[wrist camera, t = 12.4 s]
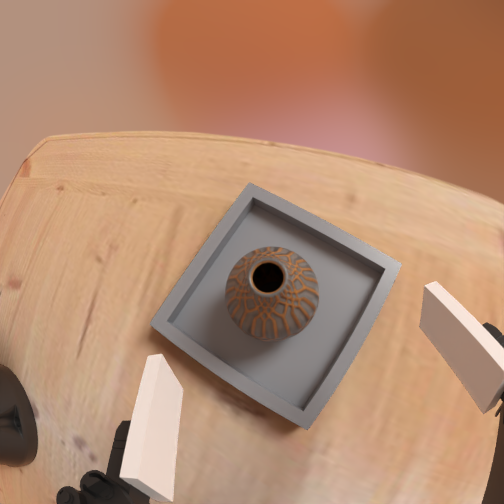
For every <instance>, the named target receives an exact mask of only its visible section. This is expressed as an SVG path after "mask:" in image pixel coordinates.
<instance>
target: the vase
mask: <svg viewBox="0 0 504 504" xmlns="http://www.w3.org/2000/svg"><path fill="white" fill-rule="evenodd" d="M225 302H226V306H227V310H228V312H229V315H230V317H231V318H232V320H233V322H234V323H235V324H236V325H237V326H238V327H239V328H240V329H241V330H242V331H243V332H244V333H246V334H247V335H249V336H251V337H253V338H255V339H258V340H262V341H269V342H275V341H282V340H286V339H289V338H291V337H293V336H295V335H297V334H298V333H300V332H301V331H302V330H304V329H305V328H306V327H307V326H308V324H309V323H310V322H311V320H312V319H313V317H314V315H315V313H316V310H317V307H318V303H319V285H318V281H317V278H316V275H315V273H314V271H313V270H312V268H311V267H310V265H309V264H308V263H307V262H306V261H305V260H304V259H303V258H302V257H301V256H300V255H298V254H297V253H295V252H293V251H291V250H288V249H285V248H281V247H262V248H259V249H256V250H253V251H251V252H249V253H247V254H246V255H244V256H243V257H242V258H241V259H240V260H239V261H238V262H237V263H236V264H235V265H234V267H233V268H232V270H231V272H230V274H229V276H228V279H227V282H226V287H225Z"/></svg>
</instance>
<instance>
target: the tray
mask: <svg viewBox="0 0 504 504" xmlns="http://www.w3.org/2000/svg"><path fill="white" fill-rule="evenodd" d="M262 247H281V248H285V249H288V250H291V251H293V252H295V253H297V254H298V255H300V256H301V257H302V258H303V259H304V260H305V261H306V262H307V263H308V264H309V265H310V267H311V268H312V270H313V271H314V273H315V275H316V278H317V281H318V285H319V303H318V307H317V310H316V313H315V315H314V317H313V319H312V320H311V322H310V323H309V324H308V326H307V327H306V328H305V329H304V330H302V331H301V332H300V333H298V334H297V335H295V336H293V337H291V338H289V339H286V340H282V341H275V342H269V341H262V340H258V339H255V338H253V337H251V336H249V335H247V334H246V333H244V332H243V331H242V330H241V329H240V328H239V327H238V326H237V325H236V324H235V323H234V322H233V320H232V318H231V317H230V315H229V312H228V310H227V306H226V302H225V287H226V282H227V279H228V276H229V274H230V272H231V270H232V268H233V267H234V265H235V264H236V263H237V262H238V261H239V260H240V259H241V258H242V257H243V256H244V255H246V254H247V253H249V252H251V251H253V250H256V249H259V248H262ZM401 265H402V264H401V263H400V262H398V261H396V260H394V259H393V258H391V257H389V256H388V255H386V254H384V253H383V252H381V251H379V250H377V249H376V248H374V247H372V246H370V245H369V244H367V243H365V242H363V241H361V240H360V239H358V238H356V237H354V236H353V235H351V234H349V233H347V232H345V231H343V230H342V229H340V228H338V227H336V226H334V225H332V224H331V223H329V222H327V221H325V220H323V219H321V218H319V217H317V216H315V215H314V214H312V213H310V212H308V211H306V210H304V209H302V208H300V207H298V206H296V205H294V204H292V203H290V202H288V201H286V200H284V199H282V198H280V197H278V196H276V195H274V194H272V193H270V192H268V191H266V190H264V189H262V188H260V187H258V186H256V185H254V184H252V183H250V182H249V183H248V185H247V186H246V187H245V189H244V190H243V191H242V193H241V194H240V195H239V197H238V198H237V199H236V201H235V202H234V203H233V205H232V206H231V207H230V209H229V210H228V212H227V213H226V214H225V216H224V217H223V218H222V220H221V221H220V223H219V224H218V225H217V227H216V228H215V229H214V231H213V232H212V234H211V235H210V236H209V238H208V239H207V241H206V242H205V243H204V245H203V246H202V248H201V249H200V251H199V252H198V253H197V255H196V256H195V258H194V259H193V260H192V262H191V263H190V265H189V266H188V268H187V269H186V271H185V272H184V273H183V275H182V276H181V278H180V279H179V281H178V282H177V284H176V285H175V287H174V288H173V290H172V291H171V292H170V294H169V295H168V297H167V298H166V300H165V301H164V303H163V304H162V306H161V307H160V309H159V310H158V312H157V313H156V315H155V316H154V318H153V319H152V321H151V322H150V325H151V326H152V327H153V328H155V329H156V330H157V331H158V332H160V333H161V334H162V335H163V336H165V337H166V338H167V339H168V340H170V341H171V342H172V343H174V344H175V345H176V346H178V347H179V348H180V349H181V350H183V351H184V352H185V353H187V354H188V355H190V356H191V357H192V358H194V359H195V360H196V361H198V362H199V363H200V364H202V365H203V366H205V367H206V368H207V369H209V370H210V371H212V372H213V373H215V374H216V375H218V376H219V377H220V378H222V379H223V380H225V381H226V382H228V383H229V384H231V385H232V386H234V387H235V388H237V389H238V390H240V391H242V392H243V393H245V394H246V395H248V396H249V397H251V398H253V399H254V400H256V401H257V402H259V403H261V404H262V405H264V406H266V407H267V408H269V409H271V410H272V411H274V412H276V413H277V414H279V415H281V416H283V417H284V418H286V419H288V420H290V421H291V422H293V423H295V424H297V425H299V426H300V427H302V428H304V429H306V430H308V429H309V428H310V426H311V425H312V424H313V422H314V421H315V419H316V418H317V416H318V415H319V414H320V412H321V411H322V409H323V408H324V406H325V405H326V403H327V402H328V400H329V399H330V397H331V396H332V394H333V393H334V391H335V390H336V388H337V386H338V385H339V383H340V382H341V380H342V378H343V377H344V375H345V374H346V372H347V370H348V369H349V367H350V365H351V364H352V362H353V360H354V358H355V357H356V355H357V353H358V352H359V350H360V348H361V346H362V344H363V343H364V341H365V339H366V337H367V335H368V333H369V332H370V330H371V328H372V326H373V324H374V322H375V320H376V318H377V316H378V314H379V312H380V310H381V308H382V306H383V304H384V302H385V300H386V298H387V296H388V294H389V292H390V289H391V287H392V285H393V283H394V281H395V279H396V276H397V274H398V272H399V269H400V267H401Z"/></svg>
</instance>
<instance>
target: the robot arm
mask: <svg viewBox="0 0 504 504" xmlns="http://www.w3.org/2000/svg"><path fill="white" fill-rule="evenodd" d="M419 327H420V328H421V330H422V331H423V332H424V333H425V335H426V336H427V337H428V338H429V340H430V341H431V342H432V344H433V345H434V346H435V347H436V349H437V350H438V351H439V353H440V354H441V355H442V357H443V358H444V359H445V361H446V362H447V363H448V365H449V366H450V367H451V369H452V370H453V371H454V373H455V374H456V376H457V377H458V378H459V380H460V381H461V382H462V384H463V385H464V387H465V388H466V390H467V391H468V392H469V394H470V395H471V397H472V398H473V400H474V401H475V403H476V404H477V406H478V407H479V409H480V410H481V412H482V413H483V414H484V413H486V412H487V411H489V410H490V409H492V408H493V407H495V406H496V404H497V402H498V401H499V399H500V398H501V400H502V401H503V403H502V404H501V406H500V407H499V409H498V410H497V412H496V414H495V417H497V416H498V414H499V413H500V421H499V429H498V436H497V442H496V448H495V453H494V458H493V463H492V467H491V472H490V476H489V480H488V483H487V487H486V491H485V494H484V497H483V501H482V504H504V335H502V333H501V332H500V331H499V330H498V329H497V328H496V327H495V326H493V325H491V324H489V323H487V322H486V323H485V324H483V325H481V324H480V323H479V322H478V321H477V320H476V319H475V318H474V317H473V316H472V315H471V314H470V313H469V312H468V311H467V310H466V309H465V308H464V307H463V306H462V305H461V304H460V303H459V302H458V301H457V300H456V299H455V298H454V297H453V296H451V295H450V294H449V293H448V292H447V291H446V290H445V289H444V288H443V287H442V286H441V285H440V284H439V283H437V282H436V281H435V282H432V283H429V284H427V285H424V294H423V303H422V312H421V319H420V326H419ZM182 396H183V388H182V386H181V385H180V383H179V382H178V380H177V378H176V377H175V375H174V373H173V372H172V370H171V368H170V367H169V365H168V363H167V362H166V360H165V358H164V356H163V355H162V354H157V355H150V356H148V358H147V361H146V365H145V369H144V372H143V376H142V380H141V383H140V387H139V391H138V395H137V399H136V403H135V407H134V411H133V415H132V420H131V421H122V422H121V424H120V425H119V427H118V428H117V430H116V434H115V438H114V442H113V446H112V448H113V449H112V450H111V454H110V459H109V463H108V467H107V472H106V475H105V474H104V473H102V472H100V471H98V470H92V471H89V472H87V473H86V474H85V475H83V477H82V479H81V481H80V488H81V491H78V490H76V489H75V488H73V487H70V486H65V487H63V488H61V489H60V490H59V491H58V494H57V499H56V501H57V504H150V503H149V499H150V498H152V499H154V500H155V501H163V502H173V494H174V479H175V466H176V455H177V443H178V433H179V423H180V414H181V405H182ZM500 411H501V412H500ZM37 443H38V442H37V429H36V423H35V419H34V415H33V411H32V408H31V405H30V402H29V400H28V397H27V395H26V393H25V390H24V388H23V387H22V385H21V383H20V381H19V380H18V378H17V377H16V376H15V374H14V373H13V372H12V371H11V370H10V369H9V368H7V367H6V366H4V365H1V364H0V464H2V465H8V466H11V467H18V466H23V465H27V464H30V463H31V462H32V461H33V460H34V458H35V455H36V452H37Z"/></svg>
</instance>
